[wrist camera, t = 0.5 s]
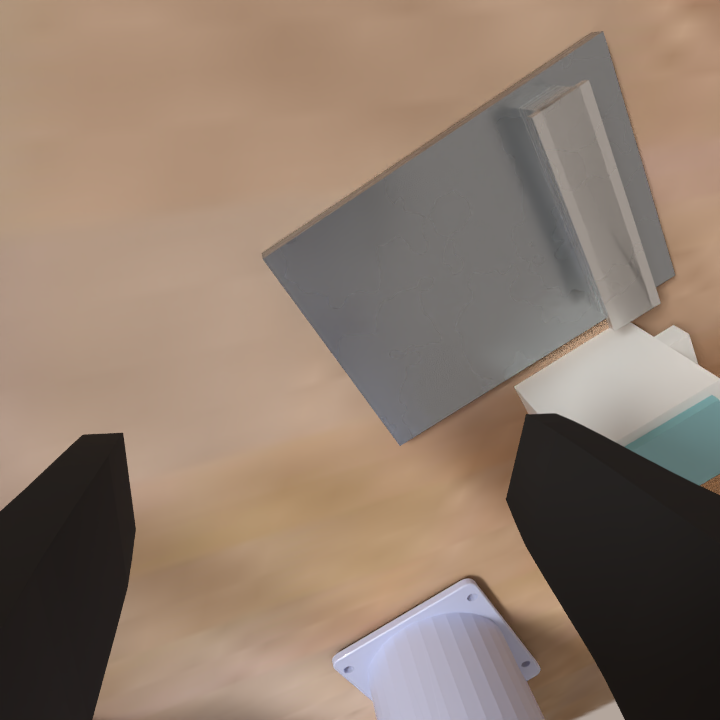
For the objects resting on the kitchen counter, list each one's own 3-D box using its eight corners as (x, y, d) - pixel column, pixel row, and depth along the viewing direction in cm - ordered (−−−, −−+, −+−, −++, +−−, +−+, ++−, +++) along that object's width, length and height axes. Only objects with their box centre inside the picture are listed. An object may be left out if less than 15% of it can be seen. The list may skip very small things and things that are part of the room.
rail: (633, 288, 20) (660, 302, 19) (590, 315, 21) (614, 331, 19) (560, 79, 17) (589, 80, 15) (508, 114, 17) (531, 117, 15)
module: (666, 378, 24) (771, 452, 19) (547, 449, 24) (621, 538, 20) (641, 306, 22) (751, 369, 17) (513, 385, 22) (586, 468, 18)
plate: (664, 270, 21) (674, 275, 21) (396, 437, 22) (399, 445, 22) (591, 32, 17) (603, 31, 16) (261, 253, 18) (262, 258, 17)
